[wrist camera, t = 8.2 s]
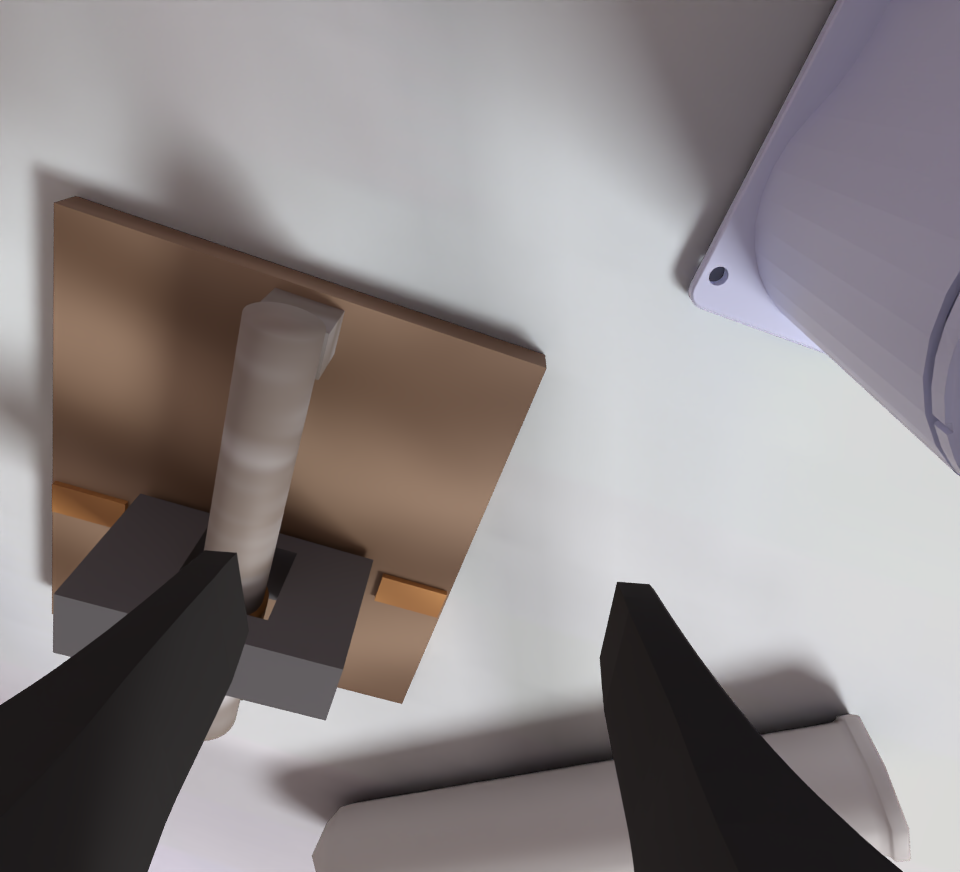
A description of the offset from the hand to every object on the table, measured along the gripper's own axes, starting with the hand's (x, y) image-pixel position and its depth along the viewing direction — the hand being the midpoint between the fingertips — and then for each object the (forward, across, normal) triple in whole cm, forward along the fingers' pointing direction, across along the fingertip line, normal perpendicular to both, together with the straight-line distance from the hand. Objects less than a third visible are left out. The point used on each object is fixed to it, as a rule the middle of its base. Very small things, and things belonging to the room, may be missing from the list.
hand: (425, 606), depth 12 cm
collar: (+8, +7, +6) cm, 12 cm away
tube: (+10, -6, +20) cm, 23 cm away
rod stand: (+9, +6, +4) cm, 12 cm away
